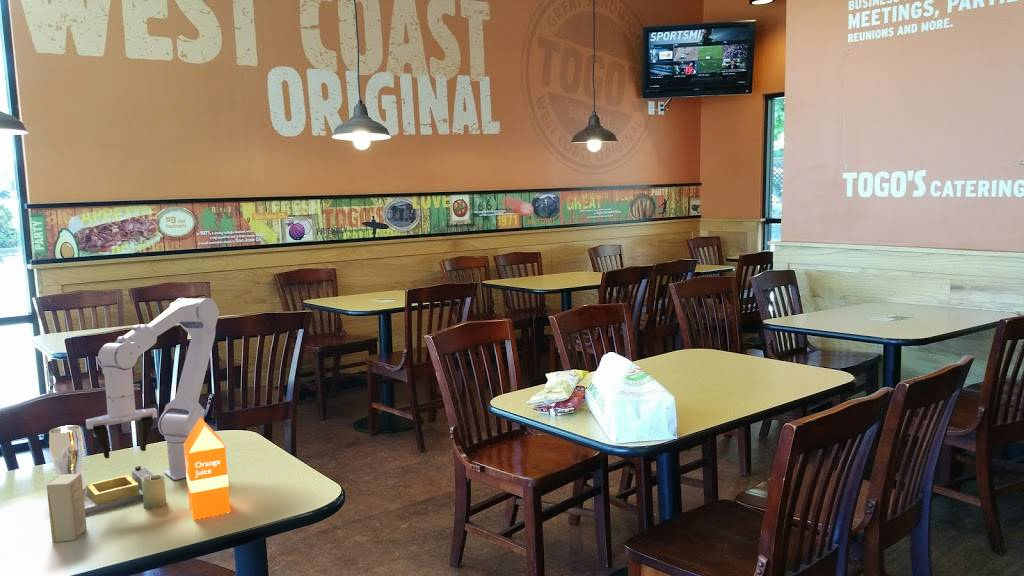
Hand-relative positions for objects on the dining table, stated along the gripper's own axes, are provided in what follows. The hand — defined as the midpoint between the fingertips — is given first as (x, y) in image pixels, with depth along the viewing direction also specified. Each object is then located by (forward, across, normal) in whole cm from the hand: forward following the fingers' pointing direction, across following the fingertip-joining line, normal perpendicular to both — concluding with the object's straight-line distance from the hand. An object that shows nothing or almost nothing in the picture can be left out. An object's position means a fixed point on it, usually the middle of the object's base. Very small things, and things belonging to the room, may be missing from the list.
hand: (125, 453), depth 183 cm
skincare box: (+11, -14, -14) cm, 23 cm away
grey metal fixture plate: (+10, -3, +2) cm, 11 cm away
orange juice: (+11, +12, -21) cm, 26 cm away
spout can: (+11, +3, -9) cm, 14 cm away
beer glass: (+11, -9, +16) cm, 21 cm away
